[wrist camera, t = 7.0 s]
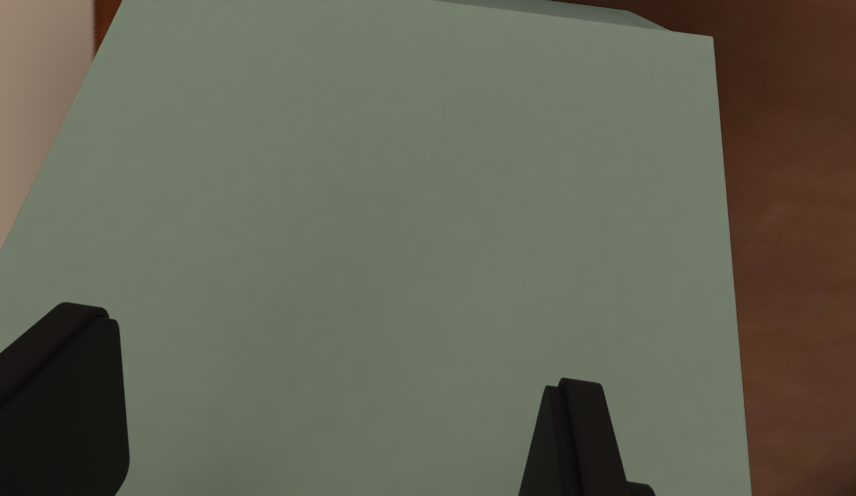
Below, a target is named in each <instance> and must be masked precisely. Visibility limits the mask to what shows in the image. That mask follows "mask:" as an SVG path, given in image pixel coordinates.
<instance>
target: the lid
mask: <svg viewBox="0 0 856 496" xmlns="http://www.w3.org/2000/svg"><path fill="white" fill-rule="evenodd" d="M62 302H70V303H77V304H83V305H90V306H96V307H102V308H104V309H106V310H107V312H108V314H109V318H110V319H115V320H116V321H117V322H118V324H119V329H120V341H121V353H122V366H123V378H124V391H125V403H126V415H127V428H128V440H129V453H130V464H129V470H128V473H127V476H126V478H125V481H124V483H123V484H122V486H121V488H120V489H119V491H118V492H117V494H116V495H115V496H518V494H519V490H520V486H521V482H522V478H523V474H524V470H525V466H526V461H527V457H528V453H529V449H530V445H531V441H532V437H533V433H534V429H535V424H536V420H537V416H538V412H539V408H540V404H541V400H542V396H543V392H544V389H545V387H546V386H547V385H550V386H556V387H558V383H559V381H560V379H561V378H562V377H564V378H570V379H577V380H584V381H590V382H597V383H600V384H601V385H602V387H603V390H604V394H605V398H606V402H607V406H608V410H609V413H610V417H611V421H612V425H613V429H614V433H615V437H616V441H617V444H618V448H619V452H620V456H621V460H622V464H623V468H624V472H625V475H626V479H627V481H630V482H636V483H642V484H648V485H649V486H650V487H651V488H652V489H653V491H654V493H655V495H656V496H752V494H751V482H750V470H749V458H748V446H747V434H746V422H745V411H744V399H743V387H742V375H741V363H740V351H739V339H738V328H737V316H736V304H735V292H734V280H733V268H732V256H731V245H730V233H729V221H728V209H727V197H726V185H725V173H724V162H723V150H722V138H721V126H720V114H719V102H718V90H717V79H716V67H715V55H714V43H713V37H711V36H703V35H696V34H688V33H680V32H673V31H665V30H657V29H650V28H642V27H635V26H627V25H619V24H612V23H604V22H596V21H589V20H581V19H573V18H566V17H558V16H550V15H543V14H535V13H527V12H520V11H512V10H505V9H497V8H489V7H482V6H474V5H466V4H459V3H451V2H443V1H436V0H123V1H122V3H121V5H120V7H119V9H118V11H117V13H116V15H115V17H114V19H113V21H112V23H111V25H110V27H109V29H108V31H107V33H106V35H105V37H104V39H103V42H102V44H101V46H100V48H99V50H98V52H97V54H96V56H95V58H94V60H93V62H92V64H91V66H90V68H89V70H88V72H87V74H86V77H85V78H84V81H83V82H82V85H81V87H80V89H79V91H78V93H77V95H76V97H75V99H74V101H73V103H72V105H71V107H70V109H69V111H68V113H67V115H66V117H65V119H64V121H63V124H62V125H61V128H60V130H59V132H58V134H57V136H56V138H55V140H54V142H53V144H52V146H51V148H50V150H49V152H48V154H47V156H46V158H45V161H44V163H43V164H42V166H41V169H40V171H39V173H38V175H37V177H36V179H35V181H34V183H33V185H32V187H31V189H30V191H29V193H28V195H27V197H26V199H25V201H24V203H23V205H22V207H21V209H20V212H19V214H18V216H17V218H16V220H15V222H14V224H13V226H12V228H11V230H10V232H9V234H8V236H7V238H6V240H5V242H4V244H3V246H2V249H1V251H0V353H1V352H2V351H3V350H4V349H5V348H7V347H8V346H9V345H10V344H11V343H13V342H14V341H15V340H16V339H17V338H19V337H20V336H21V335H22V334H23V333H25V332H26V331H27V330H28V329H29V328H30V327H32V326H33V325H34V324H35V323H36V322H38V321H39V320H40V319H41V318H42V317H44V316H45V315H46V314H47V313H48V312H50V311H51V310H52V309H53V308H54V307H55V306H57V305H58V304H60V303H62Z"/></svg>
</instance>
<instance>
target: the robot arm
mask: <svg viewBox="0 0 856 496" xmlns="http://www.w3.org/2000/svg"><path fill="white" fill-rule="evenodd" d="M129 464H130V453H129V440H128V428H127V415H126V403H125V391H124V378H123V366H122V353H121V341H120V329H119V324H118V322H117V321H116V320H115V319H110V318H109V314H108V312H107V310H106V309H104V308H102V307H96V306H90V305H83V304H77V303H70V302H62V303H60V304H58V305H57V306H55V307H54V308H53V309H52V310H51V311H50V312H48V313H47V314H46V315H45V316H44V317H42V318H41V319H40V320H39V321H38V322H36V323H35V324H34V325H33V326H32V327H30V328H29V329H28V330H27V331H26V332H25V333H23V334H22V335H21V336H20V337H19V338H17V339H16V340H15V341H14V342H13V343H11V344H10V345H9V346H8V347H7V348H5V349H4V350H3V351H2V352H1V353H0V496H115V495H116V494H117V492H118V491H119V489H120V488H121V486H122V484H123V483H124V481H125V478H126V476H127V473H128V470H129ZM518 496H656V495H655V493H654V491H653V489H652V488H651V487H650V486H649V485H648V484H642V483H636V482H630V481H627V479H626V475H625V472H624V468H623V464H622V460H621V456H620V452H619V448H618V444H617V441H616V437H615V433H614V429H613V425H612V421H611V417H610V413H609V410H608V406H607V402H606V398H605V394H604V390H603V387H602V385H601V384H600V383H597V382H590V381H584V380H577V379H570V378H564V377H562V378H561V379H560V381H559V383H558V387H556V386H550V385H547V386H546V387H545V389H544V392H543V396H542V400H541V404H540V408H539V412H538V416H537V420H536V424H535V429H534V433H533V437H532V441H531V445H530V449H529V453H528V457H527V461H526V466H525V470H524V474H523V478H522V482H521V486H520V490H519V494H518Z"/></svg>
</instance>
